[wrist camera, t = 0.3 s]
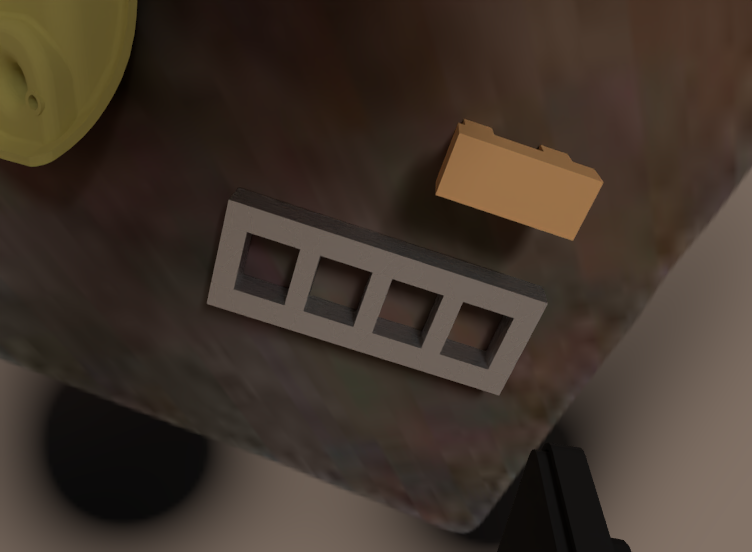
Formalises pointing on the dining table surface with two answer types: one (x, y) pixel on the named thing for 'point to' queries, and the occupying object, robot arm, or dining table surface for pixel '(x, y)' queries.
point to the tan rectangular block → (517, 181)
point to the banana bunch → (58, 71)
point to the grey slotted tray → (373, 292)
